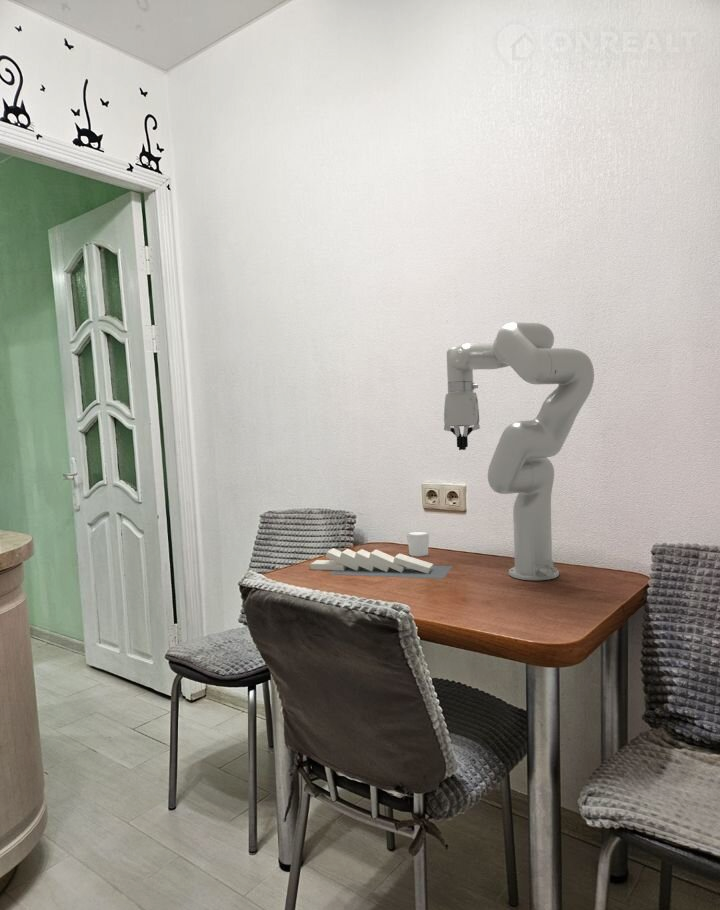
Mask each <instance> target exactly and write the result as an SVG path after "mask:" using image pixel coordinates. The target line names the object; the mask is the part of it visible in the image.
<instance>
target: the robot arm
mask: <svg viewBox="0 0 720 910" xmlns="http://www.w3.org/2000/svg"><path fill="white" fill-rule="evenodd" d="M553 333H554V332H553V331H552V330H551V328H550V327H548V326H547V325H545V324H543V323H539V322H509V323H506V324H505V325H503V326H502V327H500V329H499V330H498V331H497V333H496V337H495V338H494V341H493V342H492V343H490V342H489V343H488V342H479V343H478V342H476V343H475V342H473V343H471V342H467V343H465V342H464V343H462V344H460V345H458V346H453V347H449V348H448V349H447V351H446V369H447V370H446V372H447V375H446V376H447V393H446V394H445V397H444V407H443V410H444V412H443V422H444V426H443V431H446V432H451V433H452V434H453V435H454V436H455V437H456V448H458V450H459V451H466V449H467V448H468V447H469V446H468V445H469V443H468V436H469V435H470V434H471V433H473V431H477V430H480V429H481V426H480V411H479V410H480V409H479V402H478V401H479V400H478V395H477V392H474V391H475V390H476V389H478V388H479V383H475V382H474V373H473V371H474V370H476V371H477V370H498V369H502V368H506V367H511V368H512V369H513V371H514V372H515V373H516V374H517V375H518V376H519V377H520V379H522V380H523V381H524V382H526V383H528V384H531V385H535V386H536V385H537V386H538V385H558V386H557V387H556V388H555V389H553V391H551V393H549V395H548V396H547V397H546V398H545V400H544V401H543V402H542V405H541V407H540V410H539V412H538V413H537V415H536V416H535V418H534V419H531V420H519V421H518V420H517V421H515V422H512V423H510V424H509V425H508V426H507V427H505V429H504V430H503V432H502V434H501V436H500V438H499V440H498V443H497V446H496V447H495V450H494V453H493V455H492V458H491V460H490V462H489V466H488V470H487V482H488V484H489V487H490V489H491V490H492V491H493V492H495V493H497V494H502V495H509V494H510V495H511V494H512V495H513V494H517V495H516V497H515V500H514V503H513V507H512V508H513V509H512V510H513V512H512V513H513V514H512V515H513V516H512V517H513V522H512V523H513V550H514V556H513V557H514V566H513V567H511V568H509V569H508V575H509V576H510V577H512V578H514V579H516V580H517V579H518V580H523V581H547V580H554V579H556V578H557V577H559V574H560V573H559V572H560V571H559V570H558V568H557V567H555V566H554V560H553V547H552V543H553V542H552V539H553V537H552V493H553V485H554V482H555V481H554V479H555V468H554V465H553V463H552V461H551V460H550V459H549V458H550V457H555V456H556V455H558V454H559V452H560V451H561V450H562V448H563V446H564V444H565V442H566V440H567V437H568V436H569V433H570V432H571V430H572V428H573V425H574V423H575V421H576V418H577V417H578V414H579V413H580V411H581V409H582V408H583V406H584V404H585V403H586V401H587V399H588V398H589V396H590V394H591V391H592V388H593V386H594V380H595V371H594V365H593V362H592V360H591V359H590V357H589V356H588V355H587V354H586V353H585V352H583V351H581V350H578V349H575V348H574V349H573V348H553V345H554V342H555V337H554V336H555V335H554V334H553ZM460 427H463V434H462V433H461V428H460Z"/></svg>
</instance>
